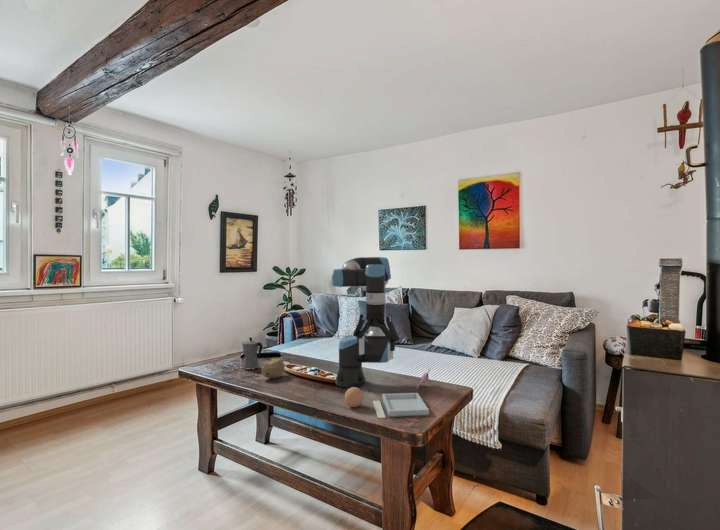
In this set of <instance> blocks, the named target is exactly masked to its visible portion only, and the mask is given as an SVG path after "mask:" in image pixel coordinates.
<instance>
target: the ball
mask: <svg viewBox="0 0 720 530" xmlns="http://www.w3.org/2000/svg"><path fill="white" fill-rule="evenodd" d="M364 397H365V396H364V392H363V391H362V390H361V389H360V388H359V387H348V389H347V390H346V391H345V394H344V402H345V403H346V405H348V406H349V407H351V408H357V407H360V406H361V405H362V403H363V402H364Z"/></svg>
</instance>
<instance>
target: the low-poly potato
mask: <svg viewBox="0 0 720 530" xmlns="http://www.w3.org/2000/svg"><path fill="white" fill-rule="evenodd" d="M285 365H286V364H285V363H284V361H283V360H282V358H280V357H279V358H278V357H277V358H276V357H275V358H271V359H270V361H269V363H268V364H265V365H262V367H261V370H260V371H261V372H260V373H261V375H262V377H265V378H267V379H271V378H274V379H278V378H277V377H279V378H280V377H282V375H283V374H284V372H285V368H286V366H285Z"/></svg>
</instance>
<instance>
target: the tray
mask: <svg viewBox="0 0 720 530" xmlns="http://www.w3.org/2000/svg"><path fill="white" fill-rule="evenodd" d="M381 400H382V402H383V405H384V407H385V410H386V412H387V415H388V417H391V418H393V417H396V418H397V417H423V416H425V417H426V416H430V408H428V406H427V405H426V403H425V402H424V400H423V399H422V397H421V396H420V394H419V393H418V392H401V393H400V392H399V393H382V394H381Z"/></svg>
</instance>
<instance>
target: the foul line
mask: <svg viewBox="0 0 720 530" xmlns="http://www.w3.org/2000/svg"><path fill="white" fill-rule="evenodd" d="M372 403H373V407H374V410H375V413H376V416H377V419H386V418H387V417H386V414H385V411H384V409H383V406H382V403H381V400H373V401H372Z"/></svg>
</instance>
